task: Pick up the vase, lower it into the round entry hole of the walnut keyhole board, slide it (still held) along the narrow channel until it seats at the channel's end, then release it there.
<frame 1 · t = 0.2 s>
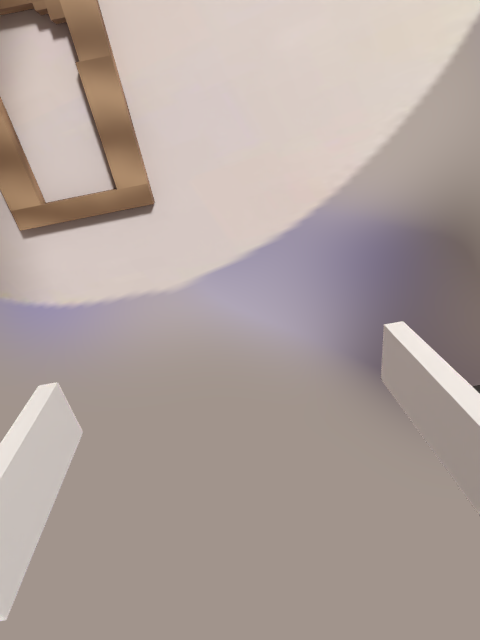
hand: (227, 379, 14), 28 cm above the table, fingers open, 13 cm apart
keyhole board: (53, 118, 33), on the table
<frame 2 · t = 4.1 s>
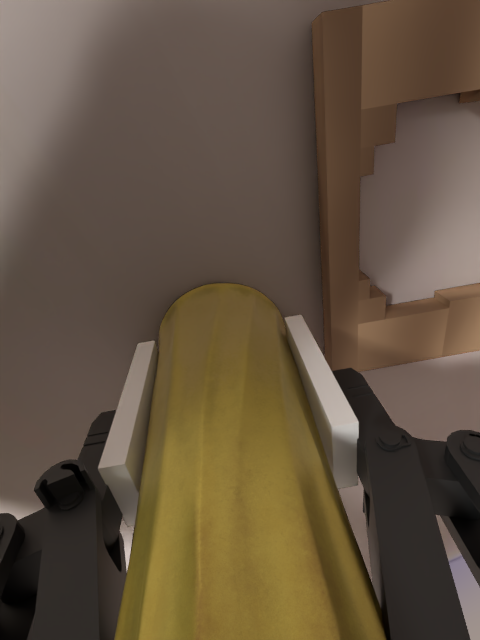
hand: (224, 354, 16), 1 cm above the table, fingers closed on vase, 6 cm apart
vase: (222, 336, 17), on the table, touching gripper
when the fingers open (2 cm above the table, at t = 11.9 s): vase stays where it is, resting in keyhole board.
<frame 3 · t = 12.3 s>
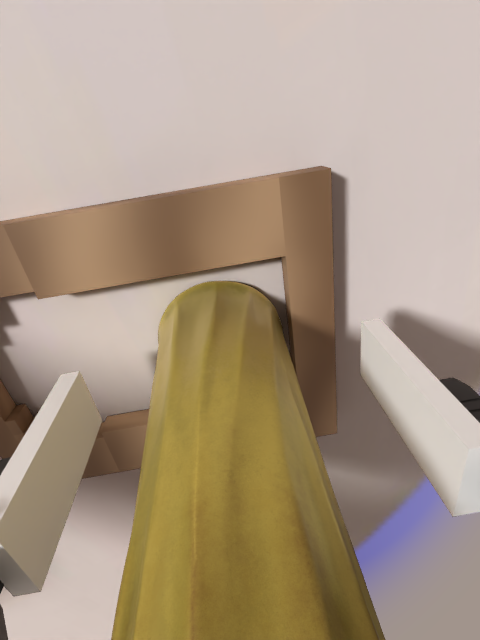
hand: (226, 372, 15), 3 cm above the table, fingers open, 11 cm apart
vase: (220, 333, 18), resting in keyhole board
keyhole board: (150, 347, 17), on the table
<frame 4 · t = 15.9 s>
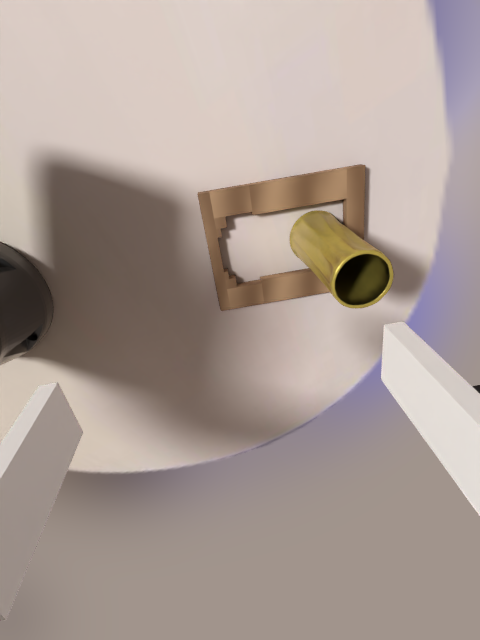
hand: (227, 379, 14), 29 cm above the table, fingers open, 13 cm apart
vase: (314, 236, 41), resting in keyhole board
keyhole board: (285, 241, 41), on the table
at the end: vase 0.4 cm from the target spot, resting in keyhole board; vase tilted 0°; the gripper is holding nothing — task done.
